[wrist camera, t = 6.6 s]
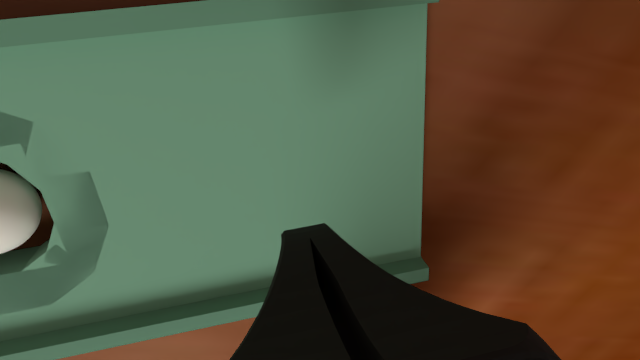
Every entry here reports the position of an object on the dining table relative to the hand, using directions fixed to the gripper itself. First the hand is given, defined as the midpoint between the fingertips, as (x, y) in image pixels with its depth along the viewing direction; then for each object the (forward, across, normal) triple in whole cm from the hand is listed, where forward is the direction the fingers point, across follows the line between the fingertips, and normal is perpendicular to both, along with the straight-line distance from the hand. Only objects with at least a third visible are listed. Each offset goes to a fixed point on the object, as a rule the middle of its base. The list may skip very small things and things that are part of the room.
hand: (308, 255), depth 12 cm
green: (+8, +5, 0) cm, 10 cm away
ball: (+7, +12, 0) cm, 14 cm away
